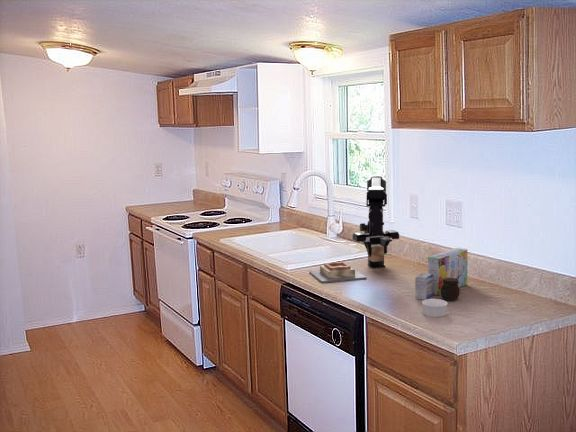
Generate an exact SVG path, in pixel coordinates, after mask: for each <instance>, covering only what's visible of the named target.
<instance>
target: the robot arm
mask: <svg viewBox="0 0 576 432" xmlns="http://www.w3.org/2000/svg"><path fill="white" fill-rule="evenodd" d="M366 186H367V187H366V203H365V204H366V208H367V207H369V208H368V220H367V224H366V223H359V231H360V232H354V233H352V236H351V237H352V240H353V241H354V242H357V243H363V245H364V247H365V248H366V249H365V250H366V252H367V256H368V255H369V257H371V245H377V244H380V245H382V246H384V255H386V254H388V246H389V245H390V243H391V242H393V240H399V239H400V232H398V231H396V230H392V229H389V230H385V232H384V225H385V222H384V208H386V205H388V193H387V181H386V180H385V179H383V176H382V175H371V176H370V179H369V180H367V181H366ZM367 266H368V267H370V268H373V269H374V268H375V269H376V268H385V267H386V265H385V260H384V261H377V262H372V261H370V260H368V259H367Z"/></svg>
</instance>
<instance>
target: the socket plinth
mask: <svg viewBox="0 0 576 432" xmlns="http://www.w3.org/2000/svg"><path fill="white" fill-rule="evenodd" d="M319 270H320V272H321V273H322V274H323V275H325V276H326V277H327V278H328V279H330V278H342V277H353V276H355V270H356V269H355V268H354V267H352V266H351V265H349V264H348V263H346V262H345V261H335V262H326V263H324V264H323V265H322V264H320V265H319Z"/></svg>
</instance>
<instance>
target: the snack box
mask: <svg viewBox="0 0 576 432" xmlns="http://www.w3.org/2000/svg"><path fill="white" fill-rule="evenodd" d="M427 266H428V267H427V270H428V271H427V273H430V274H433V295H435V296H441V292H440V290H441V287H442V285H443V279H444V278H447V277H451V278H457V277H458V276H459V275H460V274H462V275H461V276H460V277H459V278H458V287H459V289H460V288H462V287H465V286H468V249H467V248H459V247H455V248H452V249H449V250H447V251H442V252H440V253H436V254H434V255H430V256H428V257H427Z"/></svg>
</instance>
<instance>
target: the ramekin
mask: <svg viewBox="0 0 576 432" xmlns="http://www.w3.org/2000/svg"><path fill="white" fill-rule="evenodd" d="M421 306H422V314H423V315H425V316H427V317H431V318H441V317H444V316H446V314H447V307H448V301H447V300H444V299H439V298H428V299H426V300H422V301H421Z"/></svg>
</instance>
